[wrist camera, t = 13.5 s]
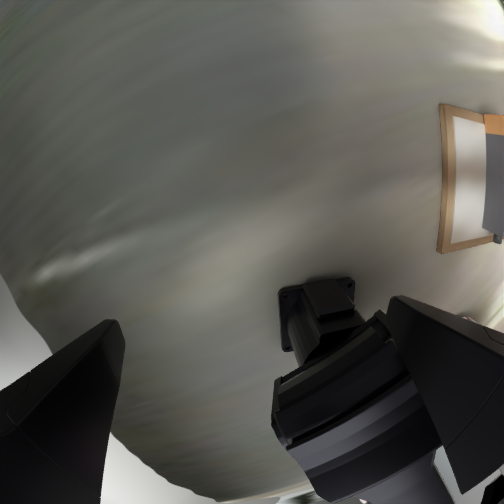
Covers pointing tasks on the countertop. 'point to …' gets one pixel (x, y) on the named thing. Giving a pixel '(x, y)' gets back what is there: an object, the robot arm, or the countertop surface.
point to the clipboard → (462, 180)
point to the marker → (494, 177)
